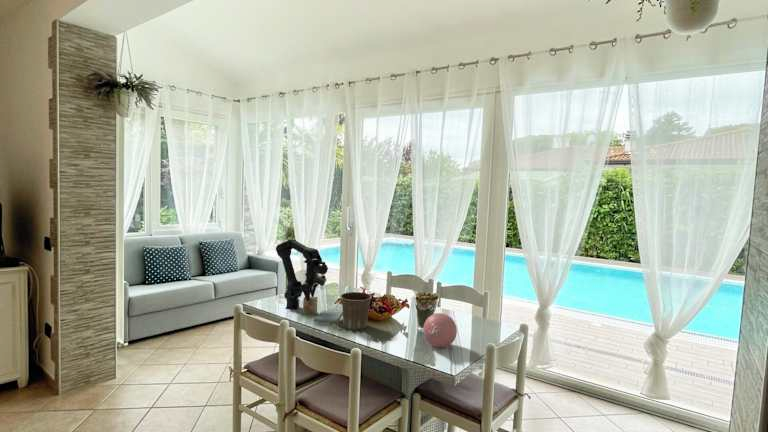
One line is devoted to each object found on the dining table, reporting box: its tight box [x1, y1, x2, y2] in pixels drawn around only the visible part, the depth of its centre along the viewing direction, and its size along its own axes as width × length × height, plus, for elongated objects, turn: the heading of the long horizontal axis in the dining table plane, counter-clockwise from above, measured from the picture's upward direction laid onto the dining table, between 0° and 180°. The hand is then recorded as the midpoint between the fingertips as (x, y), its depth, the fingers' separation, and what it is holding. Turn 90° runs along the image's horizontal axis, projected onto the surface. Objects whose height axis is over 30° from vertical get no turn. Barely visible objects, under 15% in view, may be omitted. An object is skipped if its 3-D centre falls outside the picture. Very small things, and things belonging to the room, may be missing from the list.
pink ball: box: [422, 312, 458, 349], centre depth 185 cm, size 15×20×15 cm
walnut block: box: [302, 296, 318, 316], centre depth 231 cm, size 7×4×9 cm, turn 84°
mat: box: [313, 309, 343, 323], centre depth 226 cm, size 12×18×1 cm, turn 174°
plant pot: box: [340, 291, 373, 331], centre depth 211 cm, size 16×16×16 cm
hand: (310, 298), depth 230 cm, fingers open, 9 cm apart
